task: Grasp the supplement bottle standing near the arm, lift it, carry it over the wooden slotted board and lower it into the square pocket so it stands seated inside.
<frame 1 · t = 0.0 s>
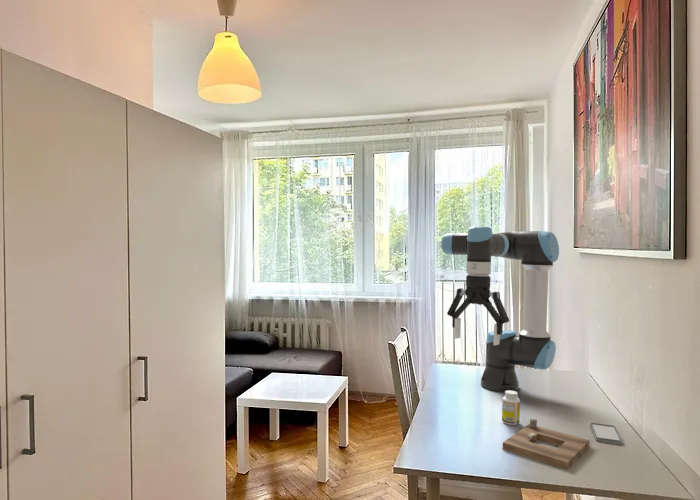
hand: (476, 341, 156), 28 cm above the table, fingers open, 13 cm apart
supplement bottle: (510, 423, 162), on the table
smartphone: (605, 436, 154), on the table
wooden slotted board: (546, 448, 142), on the table
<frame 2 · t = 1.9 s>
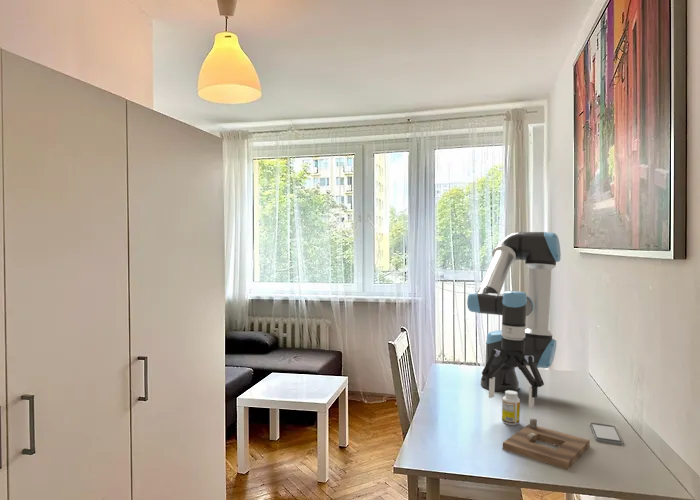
hand: (510, 402, 161), 7 cm above the table, fingers open, 13 cm apart
nothing on the table moved.
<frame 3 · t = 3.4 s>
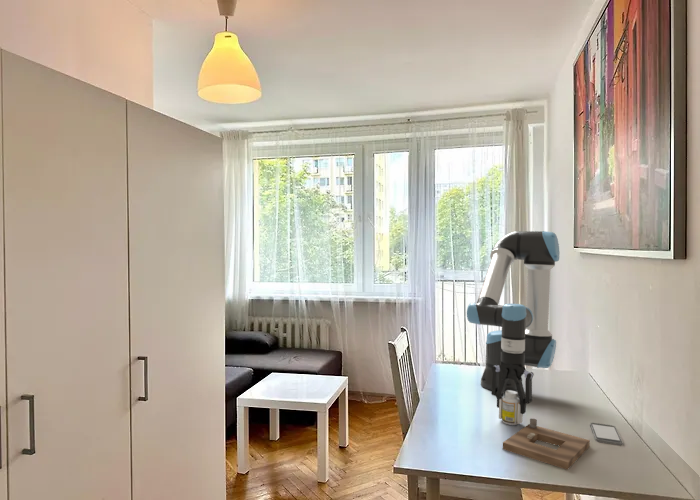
hand: (510, 420, 162), 1 cm above the table, fingers closed on supplement bottle, 6 cm apart
supplement bottle: (510, 423, 162), on the table, touching gripper
everything else where it was.
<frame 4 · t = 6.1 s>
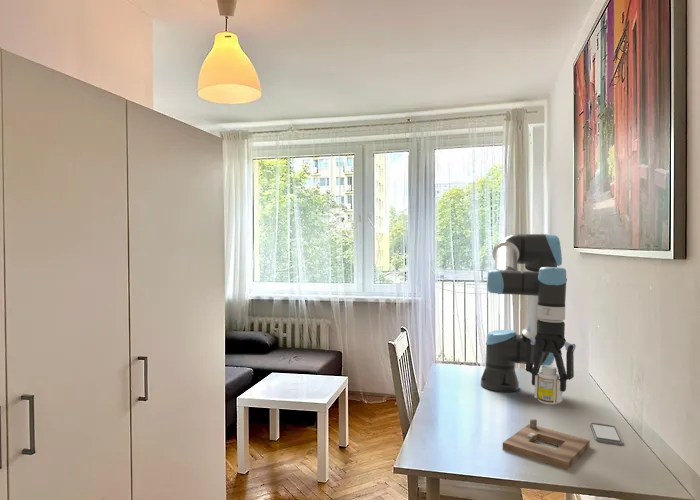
hand: (548, 399, 142), 14 cm above the table, fingers closed on supplement bottle, 6 cm apart
supplement bottle: (547, 402, 142), point 13 cm above the table, touching gripper
everything else where it was.
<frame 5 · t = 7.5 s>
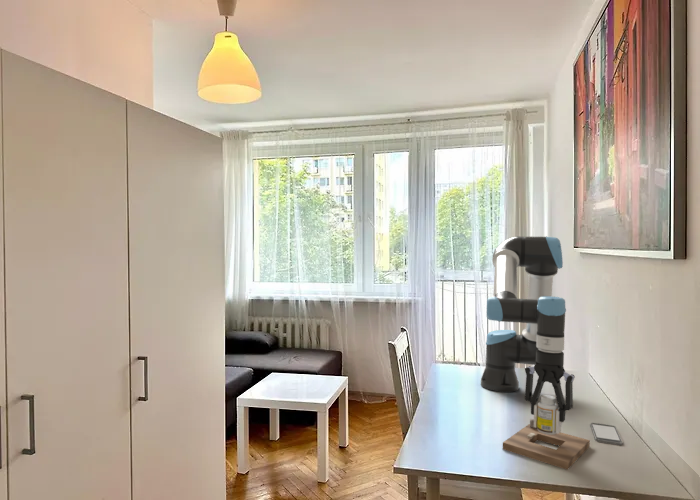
hand: (547, 428, 142), 6 cm above the table, fingers closed on supplement bottle, 6 cm apart
supplement bottle: (547, 432, 142), point 5 cm above the table, touching gripper
everything else where it was.
when the fingers open (3 cm above the table, at t = 8.8 s): supplement bottle drops 2 cm, resting in wooden slotted board.
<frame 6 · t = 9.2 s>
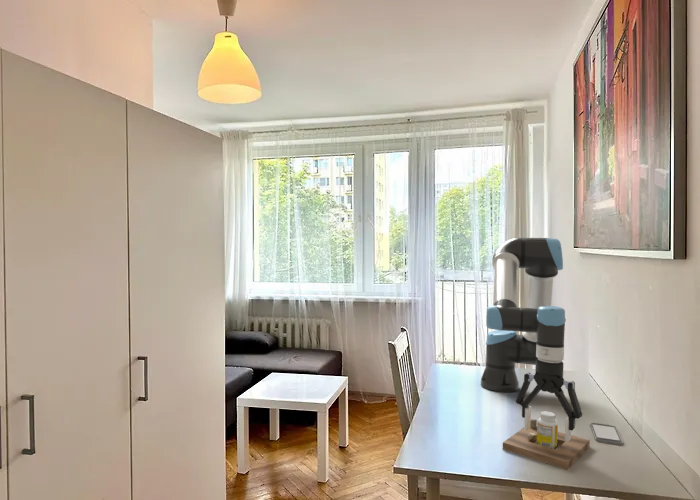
hand: (547, 434, 142), 4 cm above the table, fingers open, 11 cm apart
supplement bottle: (546, 448, 142), resting in wooden slotted board
everything else where it was.
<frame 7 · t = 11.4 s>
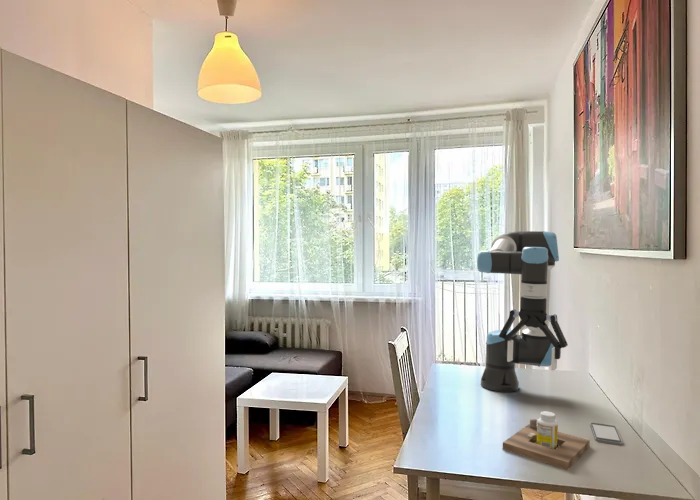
hand: (531, 365, 151), 22 cm above the table, fingers open, 13 cm apart
nothing on the table moved.
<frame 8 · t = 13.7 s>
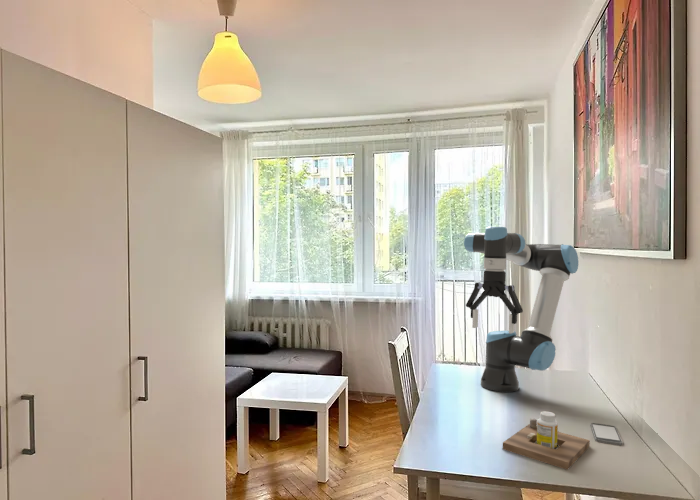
hand: (492, 330, 172), 29 cm above the table, fingers open, 13 cm apart
nothing on the table moved.
at the end: supplement bottle 0.0 cm off-centre on the wooden slotted board, point 0.0 cm above the wooden slotted board's base; supplement bottle tilted 0°; the gripper is holding nothing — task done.
